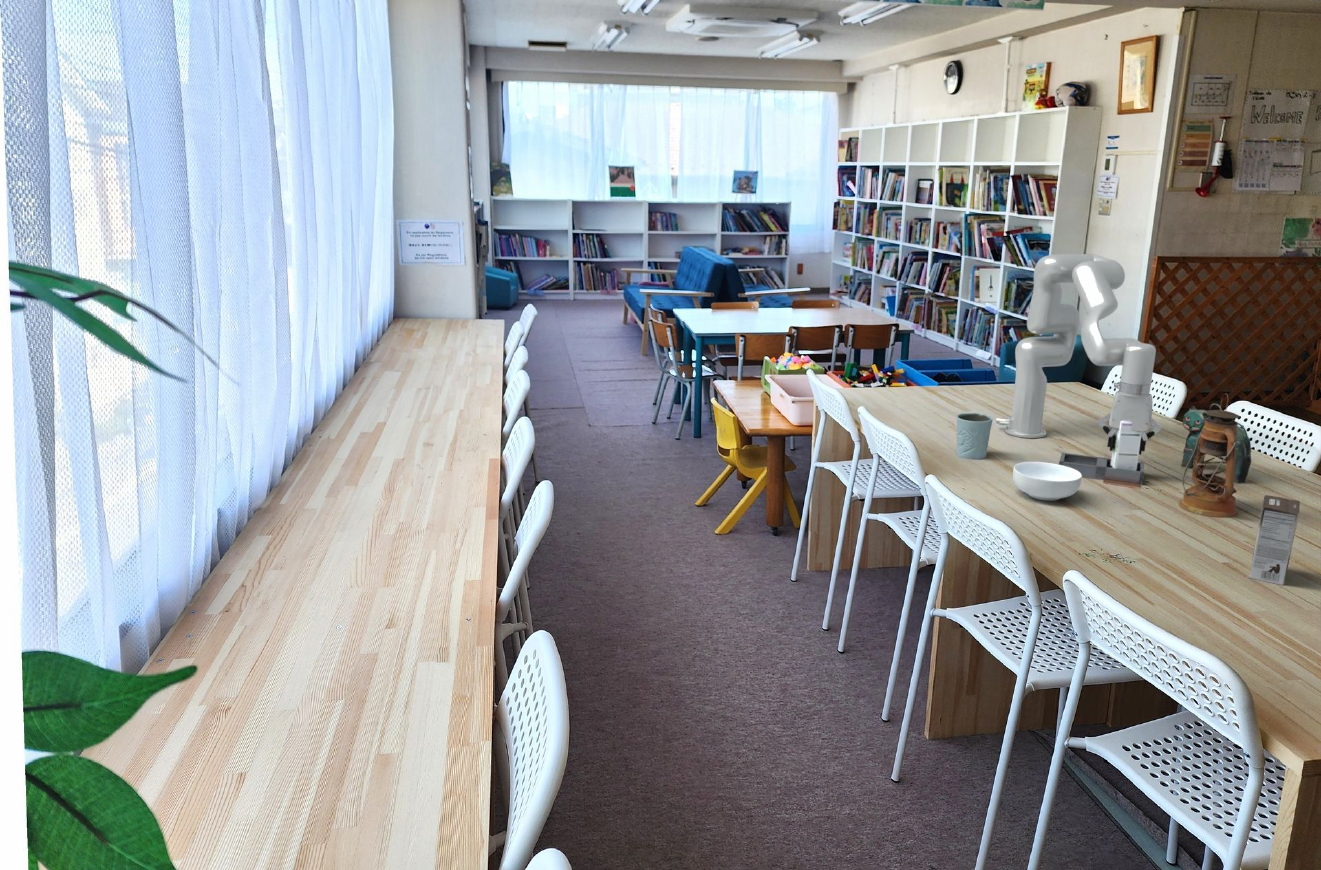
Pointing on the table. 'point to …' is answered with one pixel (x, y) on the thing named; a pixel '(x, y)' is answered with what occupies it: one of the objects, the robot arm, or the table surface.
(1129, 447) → the syrup box
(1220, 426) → the lantern
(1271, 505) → the coffee box
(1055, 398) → the table surface
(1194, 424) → the ceramic cat
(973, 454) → the embossed ceramic cup
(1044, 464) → the cereal bowl
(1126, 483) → the holder
